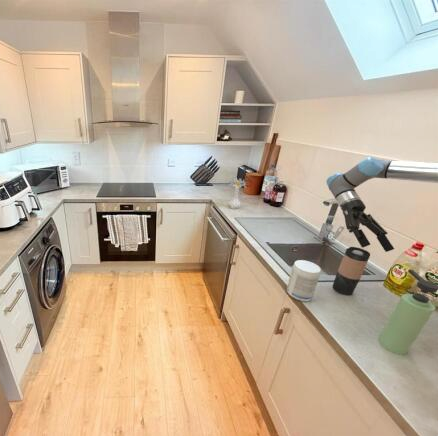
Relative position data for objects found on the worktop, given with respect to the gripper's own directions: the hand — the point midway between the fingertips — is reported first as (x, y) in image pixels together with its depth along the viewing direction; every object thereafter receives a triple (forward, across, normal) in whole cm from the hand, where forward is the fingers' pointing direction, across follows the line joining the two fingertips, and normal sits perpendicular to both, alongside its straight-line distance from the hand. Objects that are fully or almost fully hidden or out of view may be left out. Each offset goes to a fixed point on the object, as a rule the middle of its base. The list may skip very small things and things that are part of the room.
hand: (378, 248), depth 90 cm
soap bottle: (+32, +4, -10) cm, 34 cm away
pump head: (+17, +8, +7) cm, 20 cm away
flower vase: (-78, -12, -80) cm, 112 cm away
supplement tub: (+11, +15, -28) cm, 34 cm away
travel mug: (+9, -6, -23) cm, 25 cm away
